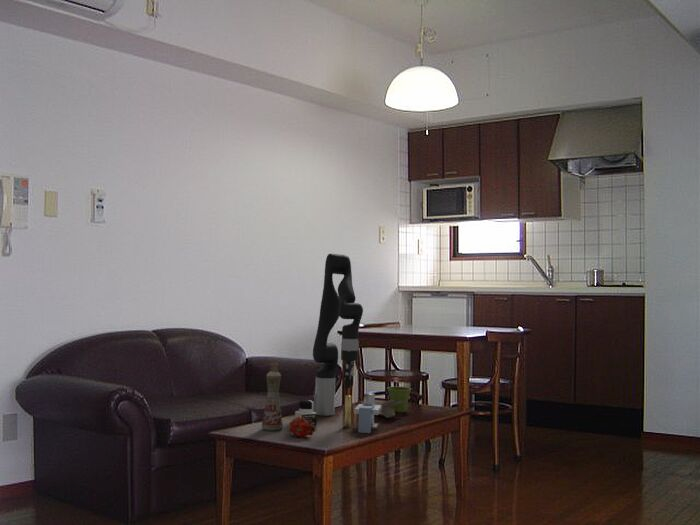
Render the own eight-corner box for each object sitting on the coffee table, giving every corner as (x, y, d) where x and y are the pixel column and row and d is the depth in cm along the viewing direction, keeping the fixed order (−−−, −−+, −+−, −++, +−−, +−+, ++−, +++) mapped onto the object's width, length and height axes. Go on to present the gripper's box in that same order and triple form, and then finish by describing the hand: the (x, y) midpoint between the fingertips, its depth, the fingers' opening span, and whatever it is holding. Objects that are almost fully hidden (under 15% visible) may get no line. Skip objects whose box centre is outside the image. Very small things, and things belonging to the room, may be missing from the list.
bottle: (286, 428, 338) (288, 361, 338) (276, 432, 330) (278, 363, 330) (268, 426, 341) (270, 360, 342) (257, 430, 333) (259, 362, 334)
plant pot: (381, 411, 391) (382, 387, 391) (396, 408, 400) (396, 385, 400) (401, 414, 384) (401, 390, 384) (415, 411, 393) (416, 388, 393)
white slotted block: (370, 428, 365) (394, 409, 362) (360, 412, 369) (384, 393, 365) (386, 429, 380) (410, 410, 376) (376, 414, 383) (400, 395, 380)
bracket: (358, 432, 334) (359, 407, 334) (362, 427, 346) (362, 403, 346) (370, 433, 333) (371, 408, 334) (373, 428, 345) (374, 404, 346)
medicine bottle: (301, 431, 334) (302, 402, 334) (294, 428, 340) (295, 399, 340) (316, 430, 337) (317, 401, 337) (309, 427, 343) (310, 398, 344)
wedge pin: (344, 426, 347) (345, 396, 347) (345, 425, 350) (345, 395, 350) (350, 426, 347) (350, 396, 347) (350, 425, 349) (351, 395, 349)
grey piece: (353, 430, 339) (354, 396, 339) (358, 424, 353) (359, 392, 353) (377, 431, 337) (378, 398, 337) (381, 425, 351) (382, 393, 352)
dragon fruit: (288, 438, 326) (312, 446, 319) (280, 428, 320) (304, 437, 313) (298, 420, 330) (322, 428, 323) (290, 410, 323) (314, 418, 317)
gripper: (343, 347, 357) (342, 384, 356) (338, 350, 342) (337, 388, 342) (360, 348, 355) (359, 385, 355) (356, 350, 341) (355, 389, 341)
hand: (349, 386), depth 348 cm, fingers open, 8 cm apart
